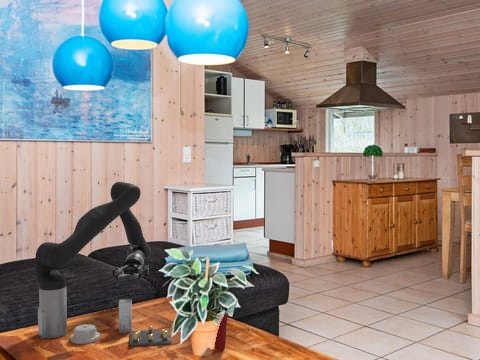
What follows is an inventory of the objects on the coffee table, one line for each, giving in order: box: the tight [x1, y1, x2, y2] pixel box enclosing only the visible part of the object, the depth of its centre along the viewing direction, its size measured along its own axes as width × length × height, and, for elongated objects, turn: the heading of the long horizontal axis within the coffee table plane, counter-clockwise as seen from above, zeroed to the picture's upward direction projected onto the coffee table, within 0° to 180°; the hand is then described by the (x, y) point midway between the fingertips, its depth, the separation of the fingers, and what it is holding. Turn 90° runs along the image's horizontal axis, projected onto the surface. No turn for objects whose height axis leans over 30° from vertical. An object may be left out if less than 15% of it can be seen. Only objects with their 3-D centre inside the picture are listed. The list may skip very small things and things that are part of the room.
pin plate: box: [129, 325, 172, 347], centre depth 178 cm, size 14×12×4 cm
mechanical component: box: [70, 323, 101, 345], centre depth 178 cm, size 10×4×10 cm
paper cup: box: [214, 312, 228, 352], centre depth 170 cm, size 8×8×14 cm
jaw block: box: [118, 298, 133, 334], centre depth 186 cm, size 4×4×11 cm
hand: (128, 276), depth 195 cm, fingers open, 8 cm apart
